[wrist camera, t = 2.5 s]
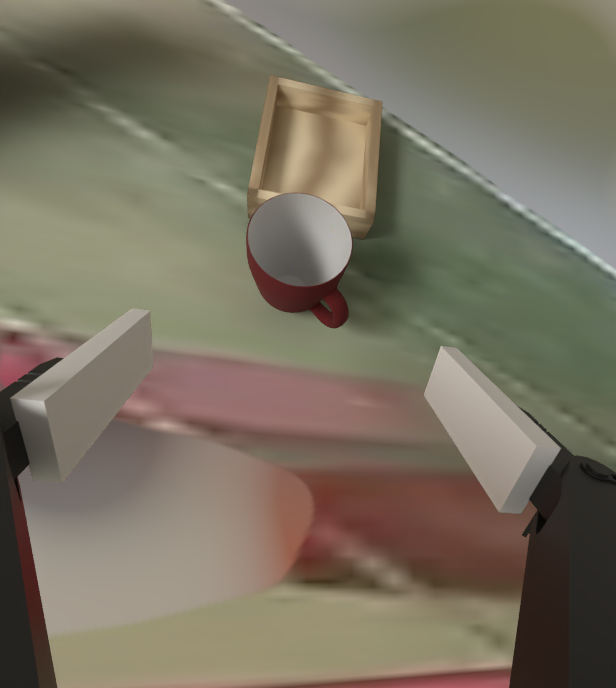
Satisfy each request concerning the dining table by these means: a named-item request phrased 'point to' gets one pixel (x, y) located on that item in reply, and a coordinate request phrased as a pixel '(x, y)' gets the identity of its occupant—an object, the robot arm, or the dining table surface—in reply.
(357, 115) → the wooden tray
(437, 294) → the dining table surface
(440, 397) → the robot arm
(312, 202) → the mug
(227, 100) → the dining table surface
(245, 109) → the dining table surface
